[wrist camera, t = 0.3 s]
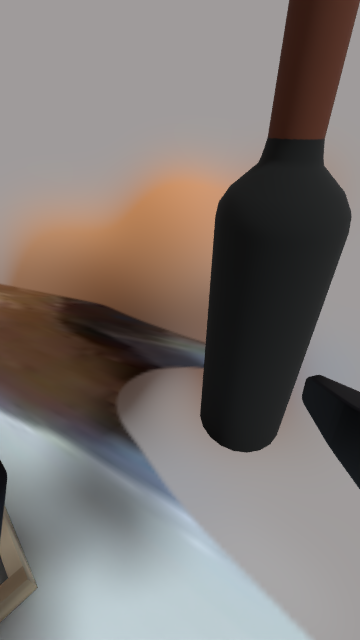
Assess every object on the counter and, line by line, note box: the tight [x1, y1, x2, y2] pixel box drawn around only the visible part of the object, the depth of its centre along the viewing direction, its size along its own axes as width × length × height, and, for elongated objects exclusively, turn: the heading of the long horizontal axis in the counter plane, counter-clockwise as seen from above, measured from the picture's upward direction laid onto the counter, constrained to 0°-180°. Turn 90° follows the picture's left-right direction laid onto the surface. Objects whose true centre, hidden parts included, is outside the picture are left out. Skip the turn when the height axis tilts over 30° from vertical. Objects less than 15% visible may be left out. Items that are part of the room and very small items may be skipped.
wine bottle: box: [200, 0, 360, 452], centre depth 19 cm, size 8×8×30 cm
